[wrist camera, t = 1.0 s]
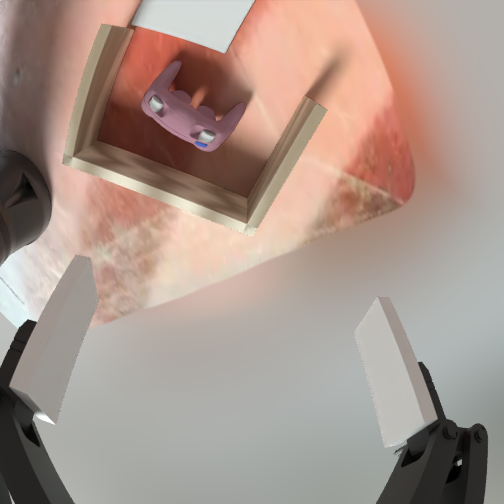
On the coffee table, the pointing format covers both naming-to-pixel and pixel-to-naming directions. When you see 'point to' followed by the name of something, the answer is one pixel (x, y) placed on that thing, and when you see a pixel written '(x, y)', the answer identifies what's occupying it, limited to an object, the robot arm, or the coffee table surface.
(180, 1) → the pad
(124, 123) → the coffee table surface
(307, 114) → the bay
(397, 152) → the coffee table surface
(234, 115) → the video game controller
